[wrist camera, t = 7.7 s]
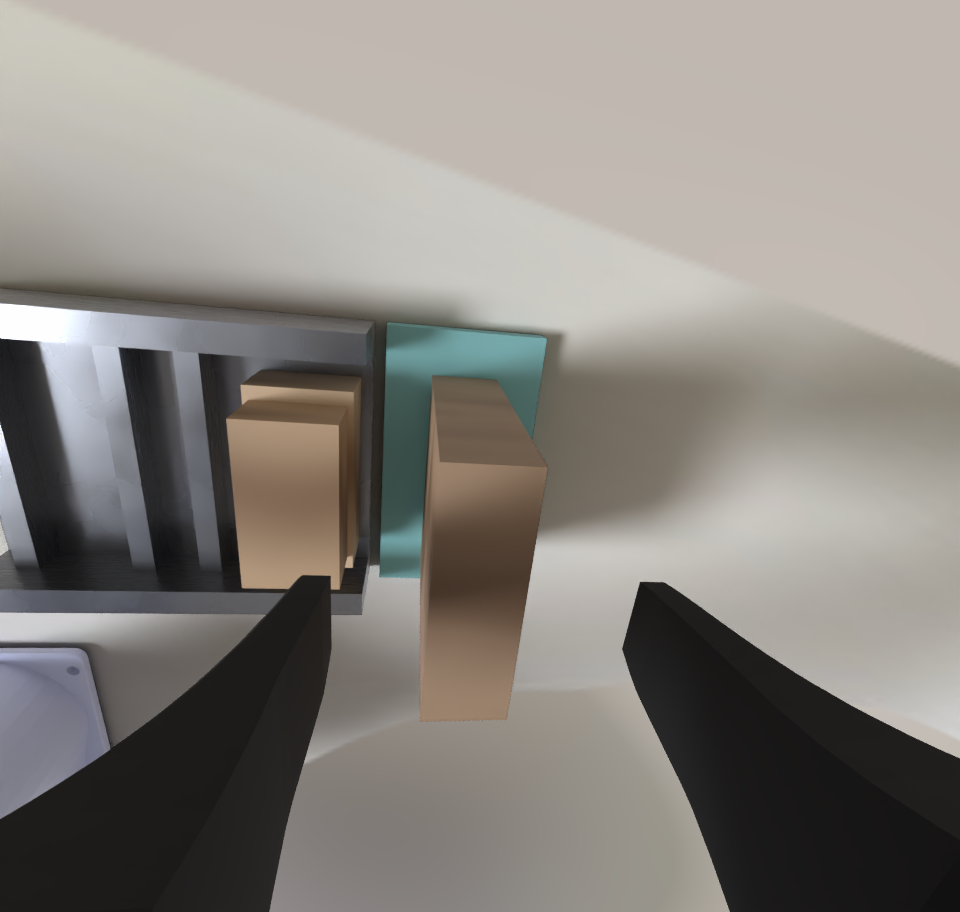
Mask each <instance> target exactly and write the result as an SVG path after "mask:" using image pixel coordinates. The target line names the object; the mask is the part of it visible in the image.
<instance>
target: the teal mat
mask: <svg viewBox="0 0 960 912" xmlns="http://www.w3.org/2000/svg"><path fill="white" fill-rule="evenodd" d="M546 343H547V338H545V337H544V336H542V335H532V334H520V333H509V332H497V331H486V330H475V329H463V328H452V327H440V326H429V325H417V324H406V323H394V322H388V324H387V340H386V374H385V407H384V441H383V474H382V507H381V541H380V574H379V577H396V578H420V554H421V538H422V523H423V507H424V492H425V476H426V461H427V446H428V430H429V415H430V399H431V384H432V375H436V376H450V377H463V378H477V379H490V380H497V381H498V383H499V385H500V387H501V388H502V390H503V392H504V393H505V395H506V397H507V398H508V400H509V402H510V404H511V405H512V407H513V409H514V410H515V412H516V414H517V416H518V417H519V419H520V421H521V422H522V424H523V426H524V427H525V429H526V431H527V433H528V434H529V436H530V438H531V439H532V437H533V431H534V424H535V417H536V410H537V403H538V397H539V390H540V383H541V376H542V370H543V363H544V356H545V349H546Z"/></svg>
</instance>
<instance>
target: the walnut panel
mask: <svg viewBox="0 0 960 912" xmlns="http://www.w3.org/2000/svg"><path fill="white" fill-rule="evenodd" d="M547 471H548V467H547V465H546V463H545V461H544V460H543V458H542V456H541V455H540V453H539V451H538V450H537V448H536V446H535V444H534V443H533V441H532V439H531V438H530V436H529V434H528V433H527V431H526V429H525V427H524V426H523V424H522V422H521V421H520V419H519V417H518V416H517V414H516V412H515V410H514V409H513V407H512V405H511V404H510V402H509V400H508V398H507V397H506V395H505V393H504V392H503V390H502V388H501V387H500V385H499V383H498V381H497V380H490V379H477V378H463V377H450V376H436V375H432V384H431V399H430V415H429V430H428V446H427V461H426V476H425V492H424V507H423V523H422V538H421V554H420V721H466V720H506V719H507V715H508V709H509V702H510V697H511V691H512V684H513V678H514V672H515V666H516V660H517V654H518V648H519V642H520V636H521V629H522V623H523V617H524V611H525V605H526V599H527V593H528V587H529V581H530V574H531V568H532V562H533V556H534V550H535V544H536V538H537V532H538V526H539V519H540V513H541V507H542V501H543V495H544V489H545V483H546V477H547Z"/></svg>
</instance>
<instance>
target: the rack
mask: <svg viewBox="0 0 960 912" xmlns="http://www.w3.org/2000/svg"><path fill="white" fill-rule="evenodd" d="M374 337H375V321H371V320H360V319H349V318H337V317H326V316H314V315H303V314H291V313H280V312H268V311H257V310H245V309H234V308H223V307H211V306H200V305H188V304H177V303H165V302H154V301H142V300H131V299H120V298H108V297H97V296H85V295H74V294H62V293H51V292H39V291H28V290H16V289H5V288H0V521H1V524H2V528H3V531H4V535H5V538H6V542H7V545H8V548H9V550H8V551H7V552H5V553H4V554H3V555H1V556H0V612H13V613H159V614H267V613H268V612H269V611H270V610H271V609H272V608H273V607H274V606H275V604H276V603H277V602H278V601H279V600H280V599H281V598H282V596H283V595H284V594H285V593H286V592H287V591H288V589H266V588H242V583H241V573H240V562H239V551H238V540H237V530H236V519H235V508H234V497H233V487H232V476H231V465H230V454H229V444H228V433H227V422H226V418H228V417H229V416H230V415H231V414H232V413H233V412H235V411H236V410H237V409H238V408H239V407H240V406H242V398H241V386H240V385H241V384H242V383H243V382H245V381H246V380H247V379H249V378H250V377H252V376H253V375H254V374H256V373H257V372H258V371H260V370H269V371H283V372H297V373H311V374H325V375H339V376H353V377H361V424H360V511H359V541H358V546H357V550H356V555H355V560H354V564H353V568H345V569H344V573H343V577H342V581H341V586H340V590H339V589H331V615H362V611H363V604H364V598H365V592H366V586H367V580H368V574H369V568H370V527H371V479H372V432H373V384H374Z"/></svg>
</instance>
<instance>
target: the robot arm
mask: <svg viewBox="0 0 960 912" xmlns="http://www.w3.org/2000/svg"><path fill="white" fill-rule="evenodd" d="M622 650H623V653H624V656H625V659H626V662H627V666H628V669H629V672H630V675H631V678H632V680H633V683H634V686H635V689H636V691H637V693H638V696H639V698H640V700H641V702H642V704H643V706H644V708H645V710H646V713H647V715H648V717H649V719H650V721H651V723H652V725H653V727H654V729H655V731H656V733H657V735H658V737H659V739H660V741H661V743H662V745H663V748H664V750H665V752H666V754H667V755H668V758H669V760H670V762H671V764H672V766H673V768H674V770H675V772H676V774H677V776H678V778H679V780H680V782H681V784H682V787H683V789H684V791H685V793H686V796H687V798H688V800H689V802H690V804H691V807H692V809H693V812H694V814H695V817H696V820H697V822H698V825H699V828H700V830H701V833H702V836H703V838H704V841H705V844H706V846H707V849H708V851H709V854H710V857H711V859H712V862H713V865H714V868H715V870H716V874H717V876H718V879H719V882H720V885H721V888H722V891H723V893H724V896H725V899H726V902H727V905H728V908H729V910H730V912H960V758H958V757H955V756H953V755H951V754H948V753H946V752H944V751H942V750H939V749H937V748H935V747H933V746H931V745H929V744H927V743H924V742H922V741H920V740H918V739H916V738H914V737H912V736H910V735H907V734H906V733H904V732H902V731H900V730H898V729H895V728H894V727H892V726H890V725H888V724H886V723H884V722H882V721H880V720H878V719H876V718H874V717H872V716H870V715H868V714H866V713H864V712H862V711H860V710H858V709H857V708H855V707H853V706H851V705H849V704H847V703H846V702H844V701H842V700H840V699H839V698H837V697H835V696H833V695H832V694H830V693H828V692H827V691H825V690H823V689H821V688H820V687H818V686H816V685H814V684H813V683H811V682H809V681H808V680H806V679H804V678H803V677H801V676H800V675H798V674H796V673H795V672H793V671H792V670H790V669H789V668H787V667H785V666H784V665H782V664H781V663H779V662H778V661H776V660H775V659H773V658H772V657H770V656H769V655H767V654H766V653H764V652H763V651H761V650H760V649H758V648H757V647H755V646H754V645H752V644H751V643H750V642H748V641H747V640H745V639H744V638H742V637H741V636H740V635H738V634H737V633H735V632H734V631H733V630H731V629H730V628H728V627H727V626H726V625H724V624H723V623H721V622H720V621H719V620H717V619H716V618H714V617H713V616H712V615H710V614H709V613H708V612H706V611H705V610H703V609H702V608H701V607H699V606H698V605H697V604H695V603H694V602H692V601H691V600H690V599H688V598H687V597H685V596H684V595H683V594H681V593H680V592H678V591H677V590H675V589H674V588H672V587H671V586H669V585H667V584H666V583H664V582H640V584H639V588H638V592H637V595H636V599H635V603H634V607H633V610H632V614H631V618H630V622H629V625H628V629H627V633H626V637H625V640H624V644H623V648H622ZM330 655H331V576H324V575H302V576H300V577H299V578H298V579H297V580H296V581H295V582H294V583H293V585H292V586H291V587H290V588H289V589H288V591H287V592H286V593H285V594H284V595H283V596H282V598H281V599H280V600H279V601H278V602H277V603H276V604H275V606H274V607H273V608H272V609H271V610H270V611H269V612H268V613H267V614H266V616H265V617H264V618H263V619H262V620H261V621H260V622H259V623H258V624H257V625H256V626H255V627H254V628H253V629H252V630H251V631H250V632H249V633H248V634H247V636H246V637H245V638H244V639H243V640H242V641H241V642H240V643H239V644H238V645H237V646H236V647H235V648H234V649H232V650H231V651H230V652H229V653H228V654H227V655H226V656H225V657H224V658H223V659H222V660H221V661H220V662H219V663H218V664H217V665H216V666H215V667H213V668H212V669H211V670H210V671H209V672H208V673H207V674H206V675H205V676H204V677H203V678H201V679H200V680H199V681H198V682H197V683H196V684H195V685H193V686H192V687H191V688H190V689H189V690H188V691H186V692H185V693H184V694H183V695H182V696H180V697H179V698H178V699H177V700H175V701H174V702H173V703H172V704H171V705H169V706H168V707H167V708H166V709H164V710H163V711H162V712H161V713H159V714H158V715H157V716H155V717H154V718H153V719H151V720H150V721H149V722H147V723H146V724H145V725H143V726H142V727H141V728H139V729H138V730H137V731H135V732H134V733H132V734H131V735H130V736H128V737H127V738H126V739H124V740H123V741H121V742H120V743H119V744H117V745H116V746H114V747H113V748H112V749H111V748H110V744H109V740H108V736H107V732H106V728H105V724H104V720H103V716H102V712H101V708H100V704H99V700H98V696H97V692H96V688H95V684H94V680H93V675H92V671H91V667H90V663H89V659H88V656H87V654H86V652H84V651H83V650H81V649H79V648H0V912H269V910H270V904H271V900H272V894H273V889H274V884H275V879H276V874H277V869H278V864H279V859H280V854H281V849H282V844H283V839H284V833H285V829H286V825H287V821H288V817H289V813H290V809H291V805H292V801H293V797H294V794H295V791H296V787H297V784H298V781H299V777H300V774H301V770H302V767H303V764H304V760H305V757H306V753H307V750H308V746H309V743H310V740H311V736H312V733H313V729H314V726H315V722H316V719H317V715H318V712H319V708H320V705H321V701H322V698H323V694H324V689H325V684H326V678H327V672H328V666H329V660H330ZM75 667H76V668H75Z"/></svg>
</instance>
